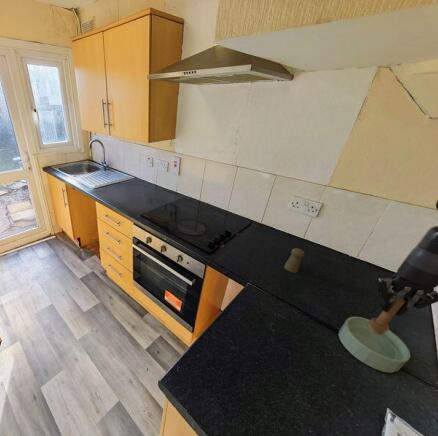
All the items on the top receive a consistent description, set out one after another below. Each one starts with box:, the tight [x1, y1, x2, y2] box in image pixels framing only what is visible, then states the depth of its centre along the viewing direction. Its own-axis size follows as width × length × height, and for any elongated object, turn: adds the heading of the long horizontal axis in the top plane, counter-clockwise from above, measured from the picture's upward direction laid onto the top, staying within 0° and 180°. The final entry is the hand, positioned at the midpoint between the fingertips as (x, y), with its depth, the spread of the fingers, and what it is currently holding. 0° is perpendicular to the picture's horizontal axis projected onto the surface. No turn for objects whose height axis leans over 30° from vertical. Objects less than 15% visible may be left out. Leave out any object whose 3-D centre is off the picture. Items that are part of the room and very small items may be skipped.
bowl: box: [338, 316, 411, 374], centre depth 72 cm, size 15×15×6 cm
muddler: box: [367, 297, 405, 335], centre depth 67 cm, size 4×4×13 cm
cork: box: [283, 247, 306, 274], centre depth 107 cm, size 6×6×11 cm
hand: (390, 311), depth 66 cm, fingers closed on muddler, 2 cm apart
